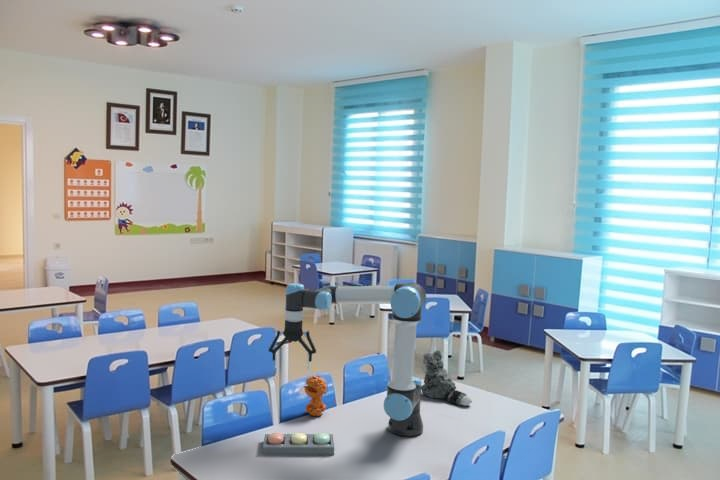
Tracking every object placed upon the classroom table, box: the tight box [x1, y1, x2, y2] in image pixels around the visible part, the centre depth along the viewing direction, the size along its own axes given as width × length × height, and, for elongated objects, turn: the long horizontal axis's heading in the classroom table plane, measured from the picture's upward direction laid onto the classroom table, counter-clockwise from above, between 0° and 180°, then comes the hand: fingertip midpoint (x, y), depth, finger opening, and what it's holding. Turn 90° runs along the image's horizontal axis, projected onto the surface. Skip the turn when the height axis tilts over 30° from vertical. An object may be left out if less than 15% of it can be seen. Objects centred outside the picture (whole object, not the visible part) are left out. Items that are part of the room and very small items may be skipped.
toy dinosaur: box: [303, 374, 329, 417], centre depth 265 cm, size 11×11×18 cm
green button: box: [314, 432, 330, 444], centre depth 231 cm, size 6×6×3 cm
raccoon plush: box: [421, 350, 473, 407], centre depth 296 cm, size 15×32×21 cm, turn 55°
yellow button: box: [291, 432, 307, 444], centre depth 230 cm, size 6×6×3 cm
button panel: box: [262, 433, 335, 456], centre depth 230 cm, size 12×27×3 cm, turn 96°
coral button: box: [268, 432, 284, 444], centre depth 229 cm, size 6×6×3 cm
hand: (291, 368), depth 253 cm, fingers open, 13 cm apart
